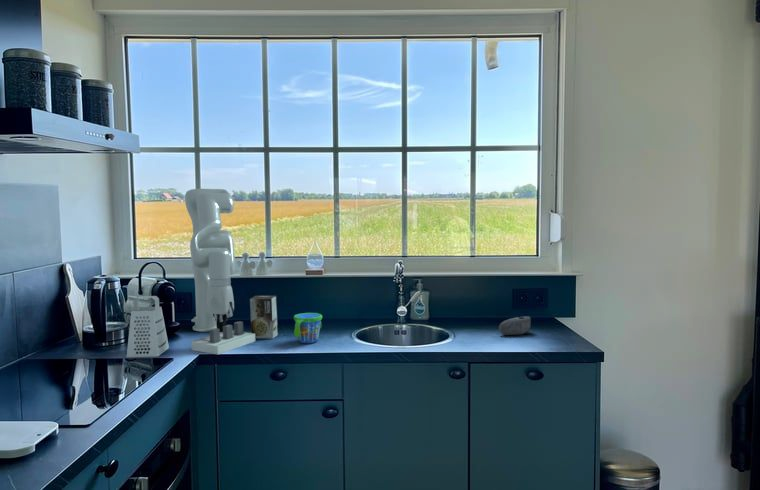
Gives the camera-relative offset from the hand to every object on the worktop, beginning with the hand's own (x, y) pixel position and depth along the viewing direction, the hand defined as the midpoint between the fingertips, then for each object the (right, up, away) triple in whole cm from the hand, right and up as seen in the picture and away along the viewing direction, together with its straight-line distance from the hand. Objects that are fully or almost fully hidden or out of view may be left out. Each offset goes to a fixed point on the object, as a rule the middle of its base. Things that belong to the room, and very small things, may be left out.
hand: (221, 331), depth 178 cm
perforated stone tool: (+114, -4, +13) cm, 114 cm away
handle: (0, -3, -6) cm, 7 cm away
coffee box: (+13, -5, +12) cm, 19 cm away
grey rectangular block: (+3, -2, -1) cm, 4 cm away
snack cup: (+32, -5, +5) cm, 33 cm away
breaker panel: (+1, -5, 0) cm, 5 cm away
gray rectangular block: (+5, -2, +4) cm, 7 cm away
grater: (-23, -6, -8) cm, 26 cm away
